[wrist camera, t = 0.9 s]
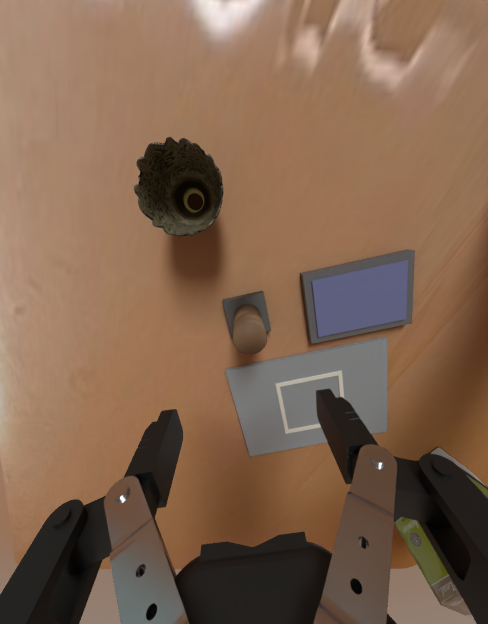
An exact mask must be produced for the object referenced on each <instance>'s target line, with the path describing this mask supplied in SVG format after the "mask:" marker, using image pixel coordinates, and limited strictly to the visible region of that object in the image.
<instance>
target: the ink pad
mask: <svg viewBox="0 0 488 624" xmlns="http://www.w3.org/2000/svg"><path fill="white" fill-rule="evenodd" d="M414 255H415V250H404V251H399V252H395V253H390V254H385V255H381V256H376V257H372V258H367V259H363V260H358V261H354V262H349V263H345V264H340V265H335V266H331V267H326V268H322V269H317V270H313V271H308V272H304V273H300V276H301V283H302V291H303V298H304V306H305V314H306V321H307V329H308V336H309V341H310V342H311V344H314V343H319V342H323V341H328V340H333V339H338V338H343V337H348V336H353V335H358V334H362V333H367V332H372V331H377V330H382V329H387V328H392V327H396V326H401V325H406V324H411V323H412V305H413V280H414Z"/></svg>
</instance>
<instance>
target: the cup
mask: <svg viewBox="0 0 488 624" xmlns="http://www.w3.org/2000/svg"><path fill="white" fill-rule="evenodd" d="M137 167H138V168H139V170H140V175H139V176H138V178H139V184H138V185H137V184H136V185H134V191H135V193H136V195H137V196H138V197H139V199H138V204H139V207H140V210H141V211H142V212H143V213H144V214H145V215H146V216H147V217H148V218H150V219H151V220H152V221H153V222H152V224H153V225H154V226H155V227H160V228H163V230H164V232H166V233H167V234H170V235H176V236H187V235H190V236H192V235H195V234H197V233H199V232H202V231H204V230H206V229H207V228H208V227H209V226H210V225H211V224H212V223H213V222H214V220H215V219H216V218H217V216H218V215H219V212H220V208H221V204H222V197H223V185H222V176H221V173H220V170H219V169H218V168H217V167H216V166H215V164H214V161H213V159H212V157H211V156H210V155H209V154H207V155H206V154H205V152H204V150H202V149H201V148H200V147H199V145H198V144H196V143H191V142H190V141H189V140H187V139H185V138H182V139H180V140H179V143H177V142H176V141H174V140H173V139H172V138H171V137H168V138H166V141H165V143H158V142H156V143H151V144H149V145H148V147H147V149H146V151H145V155H144V157H140V158H139V159H138V160H137ZM192 194H197V195H199V196H200V197H201V199H202V206H201V207H200V208H199V209H192V208H191V207H190V206H189V204H188V198H189V197H190V196H191V195H192Z"/></svg>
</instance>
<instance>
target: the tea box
mask: <svg viewBox="0 0 488 624" xmlns="http://www.w3.org/2000/svg"><path fill="white" fill-rule="evenodd" d="M430 454H437V455H440V456H443V457H445V458H447V459H449V460H451V461H452V462H454V463H455V464H456V465H457V466H458V467H459V468H460V469H461V470H462V471H463V472H464V473H465V474H466V475H467V476H468V478H469V479H470V480H471V481H472V482H473V483H474V484H475V485H476V487H477V488H478V489H479V490H480V491H481V492H482V493H483V495H484V496H485V497H486V498H487V499H488V488H487V487H486V486H485V485H484V484H483V483H482V482H481V481H480V480H479V479H478V478H477V477H476V476H475V475H474V474H473V473H472V472H471V471H470V470H468V469H467V468H466V467H464V466H463V465H462V464H460V463H459V462H458V461H456V460H455V459H454V458H452V457H451V456H449V455H448V454H447V453H446V452H444V451H443V450H442V449H440V448H439V447H438V448H436V449H435V450H434V451H432V452H431V453H430ZM394 524H395V525H396V527H397V529H398V531H399V532H400V534H401V536H402V538H403V540H404V541H405V543H406V545H407V547H408V548H409V550H410V552H411V554H412V556H413V557H414V559H415V561H416V563H417V564H418V566H419V568H420V570H421V571H422V573H423V575H424V577H425V579H426V580H427V582H428V584H429V586H430V587H431V589H432V591H433V593H434V594H435V596H436V598H437V599H438V601H439V603H440V604H441V605H442V606H445V607H447V608H449V609H452V610H454V611H457V612H459V613H461V614H463V615H466V616H468V617H470V618H472V619H474V618H473V616H472V614H471V612H470V611H469V609H468V607H467V605H466V604H465V602H464V600H463V599H462V597H461V595H460V593H459V592H458V590H457V588H456V586H455V585H454V583H453V581H452V579H451V578H450V576H449V574H448V573H447V571H446V569H445V567H444V566H443V564H442V562H441V560H440V559H439V557H438V555H437V553H436V552H435V550H434V548H433V547H432V545H431V543H430V541H429V540H428V538H427V536H426V534H425V533H424V531H423V529H422V527H421V526H420V524H419V522H418V521H416V520H412V519H408V518H404V517H400V516H396V515H394Z"/></svg>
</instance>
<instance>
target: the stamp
mask: <svg viewBox="0 0 488 624" xmlns="http://www.w3.org/2000/svg"><path fill="white" fill-rule="evenodd" d="M222 303H223V306H224V310H225V314H226V318H227V322H228V326H229V329H230V333H231V337H232V339H233V342H234V345H235V347H236V349H237V350H239V351H240V352H242V353H244V354H256V353H258V352H260V351H261V350H262V349H263V348H264V347H265V345H266V343H267V334H266V332H268V331H271V328H270V323H269V318H268V313H267V308H266V303H265V297H264V293H263V291H259V292H255V293H250V294H246V295H241V296H236V297H232V298H227V299H223V301H222Z"/></svg>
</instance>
